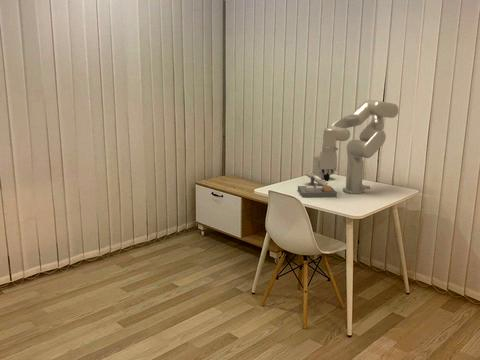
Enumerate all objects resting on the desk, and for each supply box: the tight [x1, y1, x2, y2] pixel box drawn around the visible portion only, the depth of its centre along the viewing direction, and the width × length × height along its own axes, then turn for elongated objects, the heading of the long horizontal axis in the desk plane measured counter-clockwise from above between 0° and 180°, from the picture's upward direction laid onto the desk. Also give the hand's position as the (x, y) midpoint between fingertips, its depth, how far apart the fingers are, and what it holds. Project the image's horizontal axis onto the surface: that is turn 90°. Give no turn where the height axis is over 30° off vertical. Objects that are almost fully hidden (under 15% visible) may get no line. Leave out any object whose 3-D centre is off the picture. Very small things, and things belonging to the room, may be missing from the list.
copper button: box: [321, 185, 333, 192], centre depth 276 cm, size 4×4×3 cm
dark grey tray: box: [297, 185, 338, 199], centre depth 281 cm, size 20×16×3 cm
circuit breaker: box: [312, 154, 336, 181], centre depth 319 cm, size 8×14×15 cm, turn 57°
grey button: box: [305, 185, 315, 192], centre depth 276 cm, size 4×4×3 cm
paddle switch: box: [307, 176, 317, 188], centre depth 284 cm, size 4×4×6 cm
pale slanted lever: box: [305, 170, 328, 186], centre depth 303 cm, size 8×6×14 cm
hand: (326, 180), depth 275 cm, fingers closed
